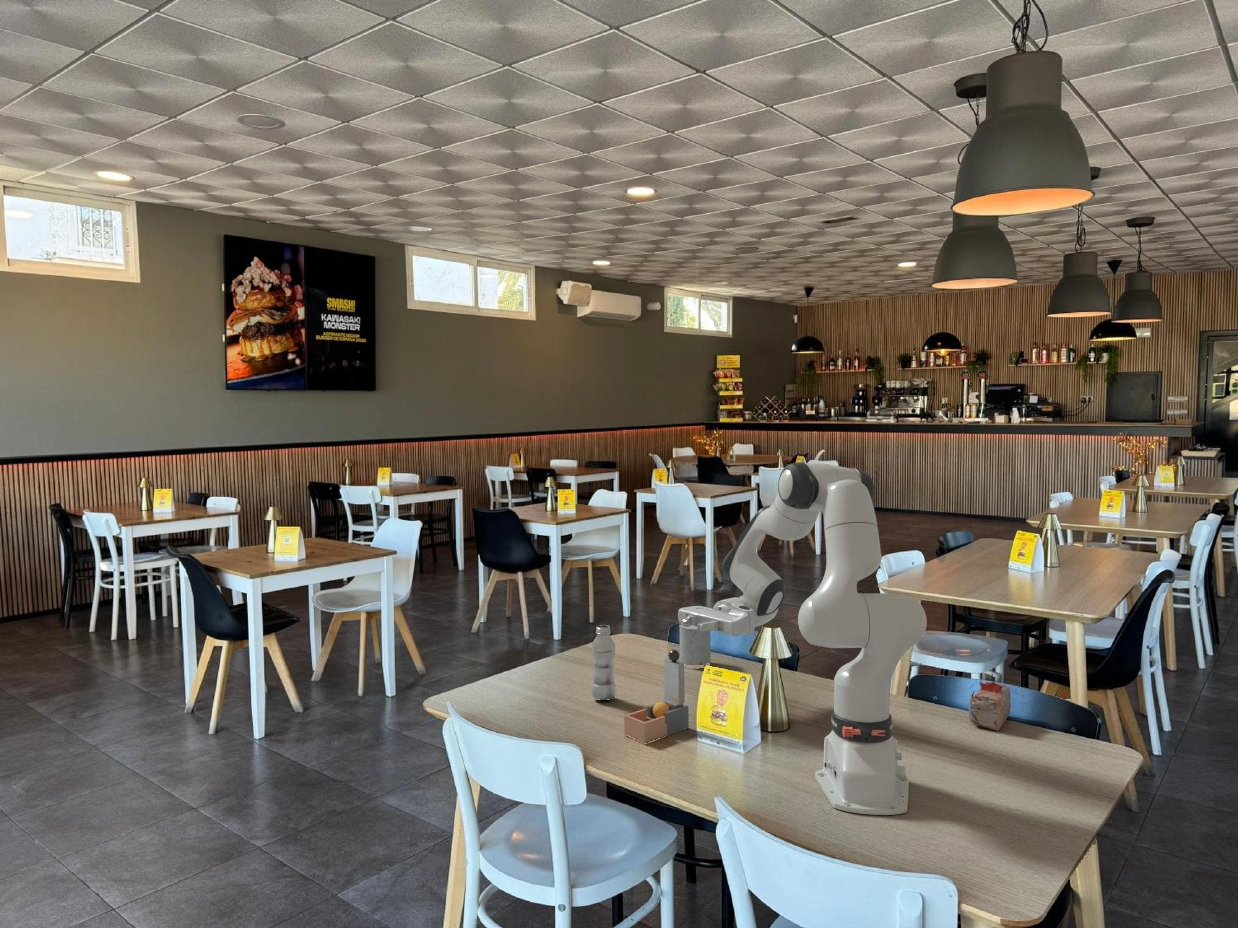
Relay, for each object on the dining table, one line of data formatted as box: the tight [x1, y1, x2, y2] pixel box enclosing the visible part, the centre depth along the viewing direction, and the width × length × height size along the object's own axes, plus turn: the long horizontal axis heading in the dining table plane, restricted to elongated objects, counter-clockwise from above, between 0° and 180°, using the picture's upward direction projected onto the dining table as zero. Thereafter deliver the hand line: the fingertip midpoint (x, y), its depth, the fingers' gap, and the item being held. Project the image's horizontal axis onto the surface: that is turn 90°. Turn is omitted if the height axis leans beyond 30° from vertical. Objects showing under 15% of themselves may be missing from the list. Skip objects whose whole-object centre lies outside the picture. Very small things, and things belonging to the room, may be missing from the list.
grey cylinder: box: [679, 623, 711, 667], centre depth 254 cm, size 10×10×12 cm
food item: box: [968, 681, 1012, 732], centre depth 203 cm, size 14×8×10 cm, turn 145°
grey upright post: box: [662, 649, 686, 711], centre depth 203 cm, size 3×5×16 cm
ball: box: [653, 701, 669, 718], centre depth 200 cm, size 4×4×4 cm
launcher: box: [646, 703, 690, 736], centre depth 202 cm, size 8×7×6 cm
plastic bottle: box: [591, 624, 617, 700], centre depth 223 cm, size 6×7×20 cm
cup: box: [623, 708, 668, 744], centre depth 197 cm, size 7×7×5 cm
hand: (691, 625), depth 206 cm, fingers open, 4 cm apart
